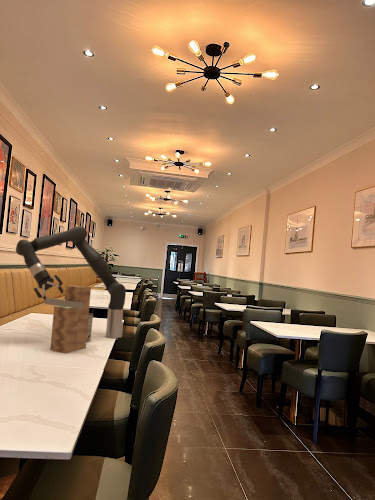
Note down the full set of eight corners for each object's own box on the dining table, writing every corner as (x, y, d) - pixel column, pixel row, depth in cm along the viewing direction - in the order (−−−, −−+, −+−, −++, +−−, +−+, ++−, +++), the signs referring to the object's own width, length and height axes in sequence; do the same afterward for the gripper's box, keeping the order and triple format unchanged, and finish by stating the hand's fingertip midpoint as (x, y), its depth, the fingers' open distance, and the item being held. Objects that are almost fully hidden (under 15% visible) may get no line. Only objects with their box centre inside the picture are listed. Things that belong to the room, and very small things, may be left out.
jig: (50, 350, 179) (55, 286, 180) (70, 345, 193) (75, 285, 194) (65, 353, 175) (71, 287, 176) (85, 347, 189) (90, 287, 190)
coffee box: (71, 340, 203) (73, 312, 204) (79, 338, 209) (81, 311, 210) (83, 343, 199) (85, 314, 200) (91, 341, 205) (93, 313, 206)
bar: (44, 304, 185) (45, 298, 185) (49, 303, 188) (49, 297, 188) (78, 308, 176) (79, 302, 176) (82, 308, 179) (83, 302, 179)
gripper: (25, 279, 189) (41, 305, 188) (49, 264, 191) (65, 290, 191) (30, 280, 197) (46, 305, 196) (53, 266, 199) (68, 290, 198)
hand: (55, 297), depth 193 cm, fingers open, 8 cm apart
